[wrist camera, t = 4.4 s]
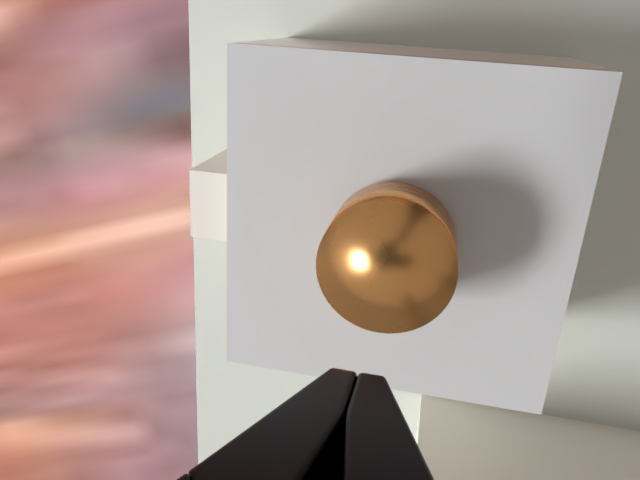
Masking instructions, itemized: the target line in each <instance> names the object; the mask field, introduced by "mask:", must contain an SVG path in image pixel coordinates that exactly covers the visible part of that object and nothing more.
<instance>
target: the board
mask: <svg viewBox="0 0 640 480" xmlns="http://www.w3.org/2000/svg"><path fill="white" fill-rule="evenodd" d="M286 37H290V38H304V39H318V40H333V41H347V42H361V43H375V44H389V45H403V46H417V47H431V48H445V49H459V50H474V51H488V52H502V53H516V54H530V55H544V56H558V57H571V58H575V59H578V60H582V61H585V62H589V63H592V64H596V65H599V66H603V67H606V68H610V69H613V70H617V71H620V72H623V74H622V78H621V83H620V87H619V91H618V95H617V99H616V104H615V108H614V112H613V116H612V120H611V125H610V129H609V133H608V137H607V141H606V145H605V150H604V154H603V158H602V162H601V166H600V171H599V175H598V179H597V183H596V187H595V192H594V196H593V200H592V204H591V208H590V213H589V217H588V221H587V225H586V229H585V233H584V238H583V242H582V246H581V250H580V254H579V259H578V263H577V267H576V271H575V275H574V280H573V284H572V288H571V292H570V296H569V301H568V305H567V309H566V313H565V317H564V321H563V326H562V330H561V334H560V338H559V342H558V347H557V351H556V355H555V359H554V363H553V368H552V372H551V376H550V380H549V384H548V389H547V393H546V397H545V401H544V405H543V409H542V415H548V416H554V417H560V418H566V419H572V420H578V421H583V422H589V423H595V424H601V425H607V426H613V427H618V428H624V429H630V430H636V431H640V0H189V45H190V93H191V140H192V168H194V167H195V166H197V165H199V164H201V163H202V162H204V161H206V160H208V159H210V158H211V157H213V156H215V155H217V154H218V153H220V152H222V151H224V150H225V149H227V43H233V42H243V41H254V40H265V39H275V38H286ZM194 284H195V331H196V379H197V427H198V464H199V463H201V462H202V461H204V460H205V459H206V458H208V457H209V456H210V455H212V454H213V453H215V452H216V451H217V450H219V449H220V448H221V447H223V446H224V445H226V444H227V443H228V442H230V441H231V440H232V439H234V438H235V437H237V436H238V435H239V434H241V433H242V432H243V431H245V430H246V429H248V428H249V427H250V426H252V425H253V424H254V423H256V422H257V421H259V420H260V419H261V418H263V417H264V416H265V415H267V414H268V413H270V412H271V411H272V410H274V409H275V408H277V407H278V406H279V405H281V404H282V403H283V402H285V401H286V400H288V399H289V398H290V397H292V396H293V395H294V394H296V393H297V392H299V391H300V390H301V389H303V388H304V387H305V386H307V385H308V384H310V383H311V382H312V381H314V380H315V379H316V378H318V377H317V376H311V375H305V374H299V373H294V372H288V371H282V370H276V369H270V368H264V367H259V366H253V365H247V364H241V363H235V362H229V361H227V241H221V240H213V239H206V238H198V237H194ZM391 390H392V393H393V395H394V397H395V399H396V401H397V403H398V405H399V407H400V409H401V411H402V413H403V416H404V418H405V420H406V422H407V424H408V426H409V428H410V430H411V432H412V434H413V436H414V438H415V434H416V428H417V421H418V414H419V407H420V400H421V394H416V393H411V392H405V391H399V390H393V389H391Z"/></svg>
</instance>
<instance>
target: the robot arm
mask: <svg viewBox="0 0 640 480" xmlns="http://www.w3.org/2000/svg"><path fill="white" fill-rule="evenodd" d="M177 480H434V478H433V476H432V474H431V472H430V470H429V468H428V466H427V464H426V461H425V459H424V457H423V455H422V453H421V451H420V449H419V447H418V445H417V443H416V441H415V438H414V436H413V434H412V432H411V430H410V428H409V426H408V424H407V422H406V420H405V418H404V416H403V413H402V411H401V409H400V407H399V405H398V403H397V401H396V399H395V397H394V395H393V393H392V390H391V388H390V386H389V384H388V382H387V380H386V378H385V377H383V376H380V375H374V374H368V373H360V374H359V375H358V376H357V374H356V373H355V372H354V371H350V370H344V369H338V368H331V369H329V370H327V371H326V372H325V373H323V374H322V375H321V376H319V377H318V378H316V379H315V380H314V381H312V382H311V383H310V384H308V385H307V386H305V387H304V388H303V389H301V390H300V391H299V392H297V393H296V394H294V395H293V396H292V397H290V398H289V399H288V400H286V401H285V402H283V403H282V404H281V405H279V406H278V407H277V408H275V409H274V410H272V411H271V412H270V413H268V414H267V415H265V416H264V417H263V418H261V419H260V420H259V421H257V422H256V423H254V424H253V425H252V426H250V427H249V428H248V429H246V430H245V431H243V432H242V433H241V434H239V435H238V436H237V437H235V438H234V439H232V440H231V441H230V442H228V443H227V444H226V445H224V446H223V447H221V448H220V449H219V450H217V451H216V452H215V453H213V454H212V455H210V456H209V457H208V458H206V459H205V460H204V461H202V462H201V463H199V464H198V465H197V466H195V467H194V468H192V469H191V470H190V471H189V474H184V475H182V476H181V477H180V478H178V479H177Z"/></svg>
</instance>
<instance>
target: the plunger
mask: <svg viewBox="0 0 640 480" xmlns="http://www.w3.org/2000/svg"><path fill="white" fill-rule="evenodd" d="M316 273H317V279H318V283H319V286H320V288H321V291H322V293H323V295H324V296H325V298H326V300H327V301H328V303H329V304H330V305H331V307H332V308H333V309H334V310H335V311H336V312H337V313H338V314H339V315H340V316H342V317H343V318H344V319H346V320H347V321H349V322H350V323H352V324H354V325H356V326H358V327H360V328H363V329H366V330H369V331H373V332H377V333H386V334H393V333H403V332H408V331H412V330H415V329H418V328H420V327H422V326H424V325H426V324H428V323H430V322H431V321H432V320H434V319H435V318H436V317H437V316H439V315H440V314H441V313H442V312H443V310H444V309H445V308H446V307H447V305H448V304H449V302H450V300H451V299H452V297H453V294H454V292H455V289H456V285H457V281H458V249H457V234H456V229H455V226H454V223H453V220H452V218H451V216H450V214H449V212H448V211H447V209H446V208H445V207H444V205H443V204H442V203H441V202H440V201H439V200H438V199H437V198H436V197H434V196H433V195H432V194H431V193H429V192H427V191H426V190H424V189H422V188H420V187H417V186H415V185H412V184H408V183H403V182H393V181H389V182H380V183H375V184H372V185H369V186H366V187H364V188H362V189H360V190H358V191H357V192H355V193H354V194H352V195H351V196H350V197H349V198H348V199H347V200H346V201H345V202H344V203H343V204H342V206H341V207H340V209H339V210H338V212H337V213H336V215H335V217H334V219H333V220H332V222H331V224H330V225H329V227H328V229H327V230H326V232H325V234H324V236H323V237H322V240H321V242H320V244H319V247H318V251H317V256H316Z"/></svg>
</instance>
